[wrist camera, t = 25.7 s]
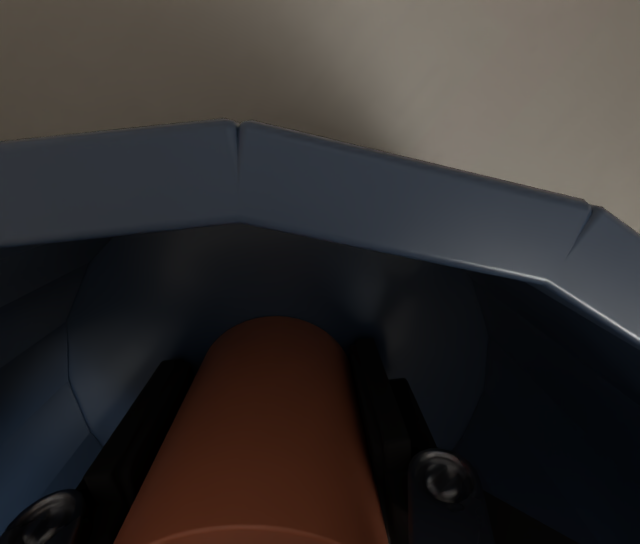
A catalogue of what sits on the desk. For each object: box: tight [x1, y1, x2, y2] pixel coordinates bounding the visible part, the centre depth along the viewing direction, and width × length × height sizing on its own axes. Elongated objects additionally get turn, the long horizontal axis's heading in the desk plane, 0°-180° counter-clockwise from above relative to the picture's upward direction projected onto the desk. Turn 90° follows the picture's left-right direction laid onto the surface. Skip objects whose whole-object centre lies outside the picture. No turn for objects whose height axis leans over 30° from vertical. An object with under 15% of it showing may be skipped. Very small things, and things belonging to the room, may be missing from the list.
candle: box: [113, 316, 389, 544], centre depth 8 cm, size 5×5×6 cm
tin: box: [0, 118, 640, 544], centre depth 8 cm, size 14×14×8 cm
